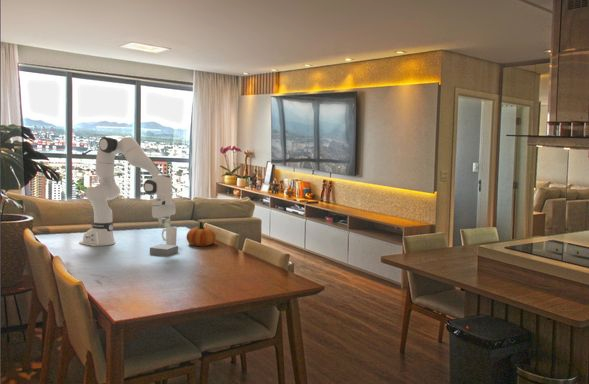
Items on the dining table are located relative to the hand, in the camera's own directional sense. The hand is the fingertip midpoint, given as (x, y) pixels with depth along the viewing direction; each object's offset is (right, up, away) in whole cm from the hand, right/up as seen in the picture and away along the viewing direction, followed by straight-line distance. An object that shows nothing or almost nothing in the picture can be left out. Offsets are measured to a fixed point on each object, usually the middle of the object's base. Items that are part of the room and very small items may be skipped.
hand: (164, 223), depth 302 cm
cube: (0, -2, 0) cm, 2 cm away
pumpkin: (+17, -16, +31) cm, 38 cm away
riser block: (-1, -18, +2) cm, 18 cm away
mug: (-3, -16, +25) cm, 29 cm away
